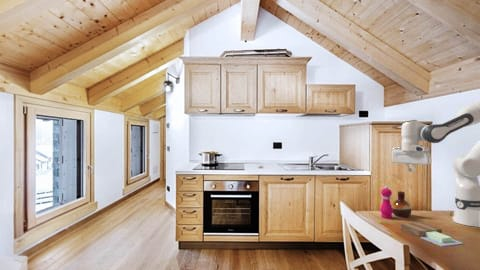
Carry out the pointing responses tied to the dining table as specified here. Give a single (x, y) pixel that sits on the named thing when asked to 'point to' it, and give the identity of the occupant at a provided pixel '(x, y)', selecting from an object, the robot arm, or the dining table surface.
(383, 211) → the pepper mill
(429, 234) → the pale green flat block
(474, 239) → the dining table surface
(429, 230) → the deck
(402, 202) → the vase
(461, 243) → the mat
